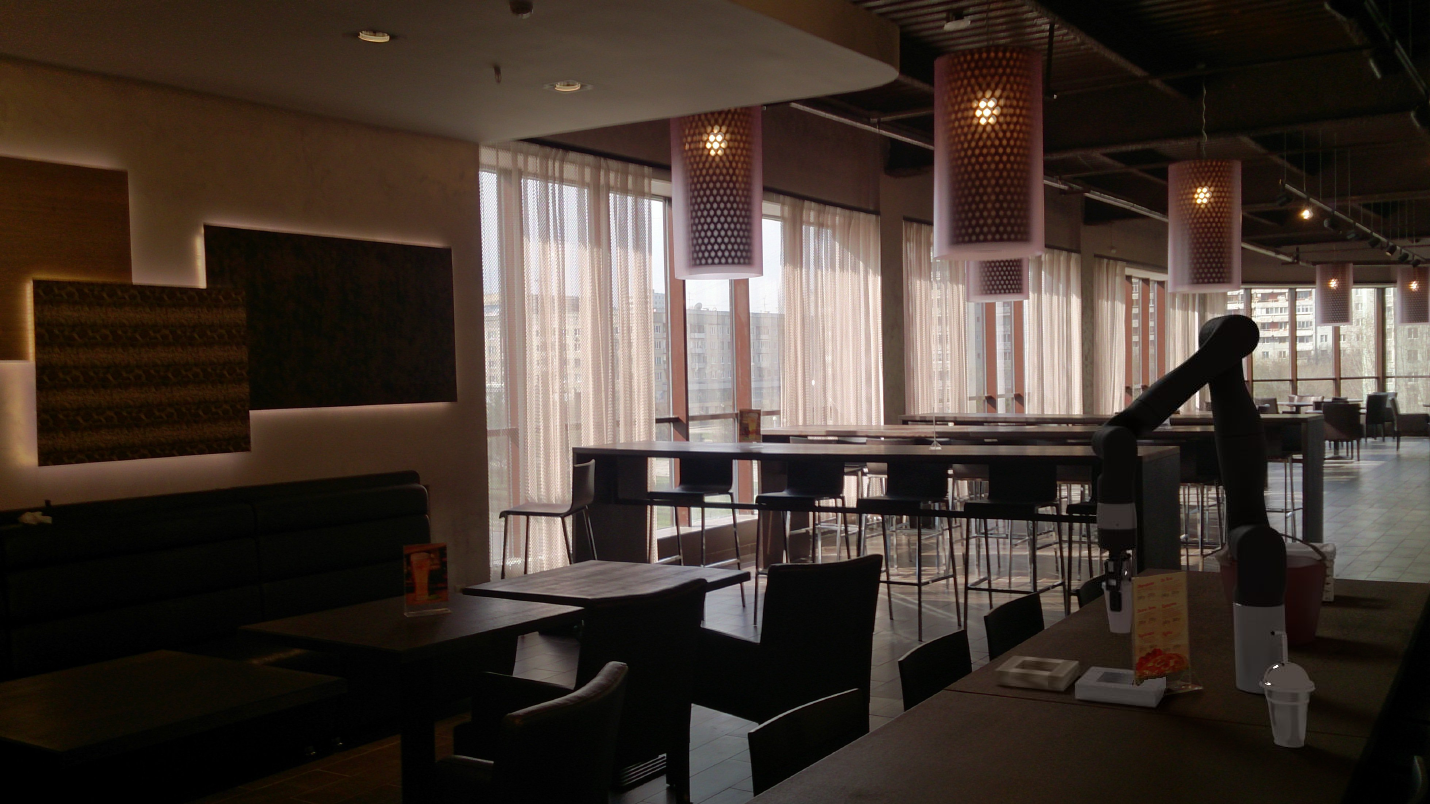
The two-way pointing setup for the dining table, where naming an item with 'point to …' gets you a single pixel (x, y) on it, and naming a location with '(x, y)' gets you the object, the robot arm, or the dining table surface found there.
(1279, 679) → the cup with straw
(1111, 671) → the ring
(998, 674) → the socket block
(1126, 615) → the smoothie
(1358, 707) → the dining table surface
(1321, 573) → the bucket
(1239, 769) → the dining table surface
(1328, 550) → the storage basket
